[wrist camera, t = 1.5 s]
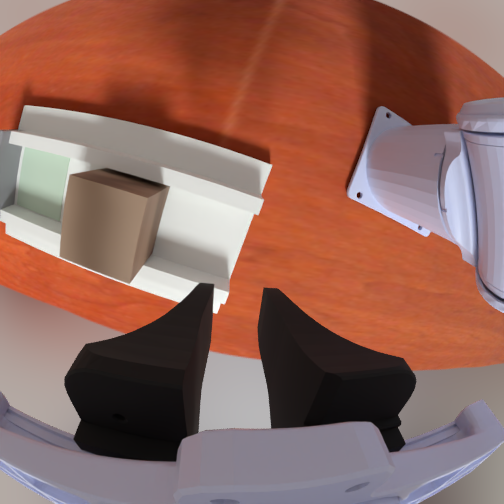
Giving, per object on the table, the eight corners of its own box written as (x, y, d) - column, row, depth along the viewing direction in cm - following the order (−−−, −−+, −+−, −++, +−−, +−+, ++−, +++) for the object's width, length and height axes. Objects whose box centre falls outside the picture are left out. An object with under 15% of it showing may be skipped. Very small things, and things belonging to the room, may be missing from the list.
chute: (270, 164, 18) (279, 167, 15) (217, 307, 22) (215, 336, 18) (31, 106, 15) (2, 103, 11) (11, 230, 18) (-14, 243, 14)
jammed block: (170, 186, 17) (147, 198, 13) (152, 252, 19) (129, 283, 14) (107, 167, 16) (69, 174, 12) (94, 232, 18) (59, 256, 13)
